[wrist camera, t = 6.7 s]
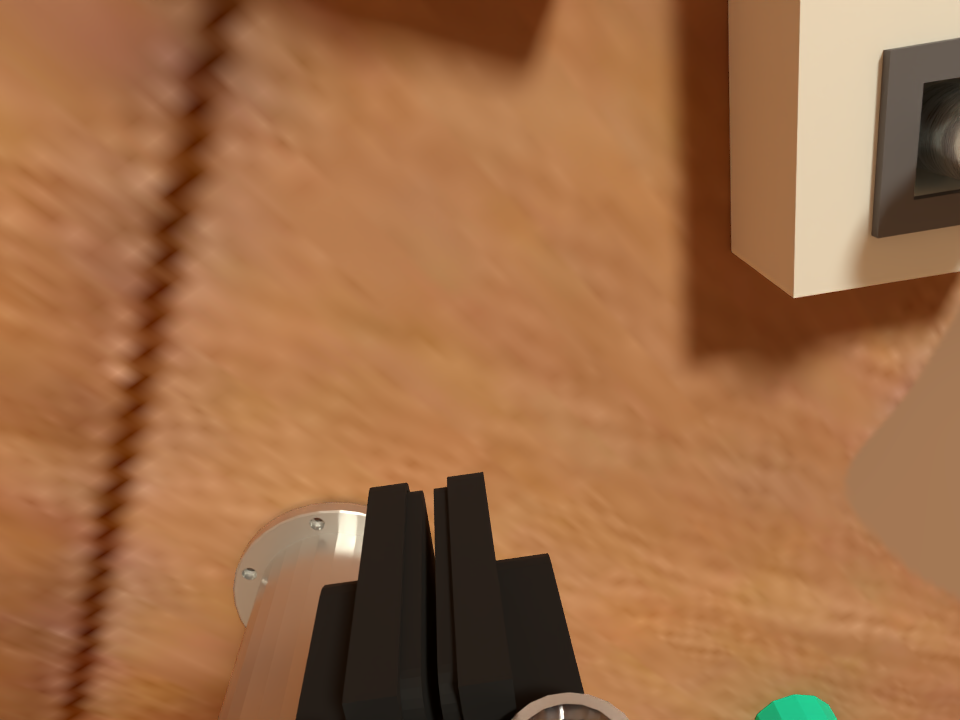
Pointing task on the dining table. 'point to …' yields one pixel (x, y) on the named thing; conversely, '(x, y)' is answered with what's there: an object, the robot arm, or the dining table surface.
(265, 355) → the dining table surface
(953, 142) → the grey peg
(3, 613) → the dining table surface
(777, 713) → the candle
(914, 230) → the socket block
